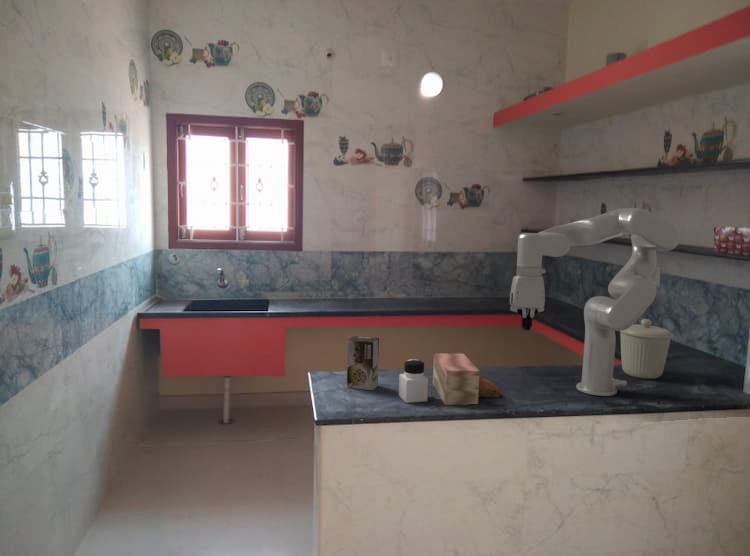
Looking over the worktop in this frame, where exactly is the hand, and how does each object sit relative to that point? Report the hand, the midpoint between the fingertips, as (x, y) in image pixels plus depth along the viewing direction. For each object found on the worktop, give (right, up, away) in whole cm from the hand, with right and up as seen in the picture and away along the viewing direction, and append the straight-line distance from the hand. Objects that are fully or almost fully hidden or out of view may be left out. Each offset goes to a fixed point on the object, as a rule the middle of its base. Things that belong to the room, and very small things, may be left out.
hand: (526, 329), depth 182 cm
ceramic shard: (-17, -21, +3) cm, 27 cm away
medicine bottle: (-36, -21, -5) cm, 43 cm away
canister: (+50, -20, +29) cm, 61 cm away
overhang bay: (-23, -21, +1) cm, 31 cm away
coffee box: (-52, -19, +5) cm, 56 cm away
